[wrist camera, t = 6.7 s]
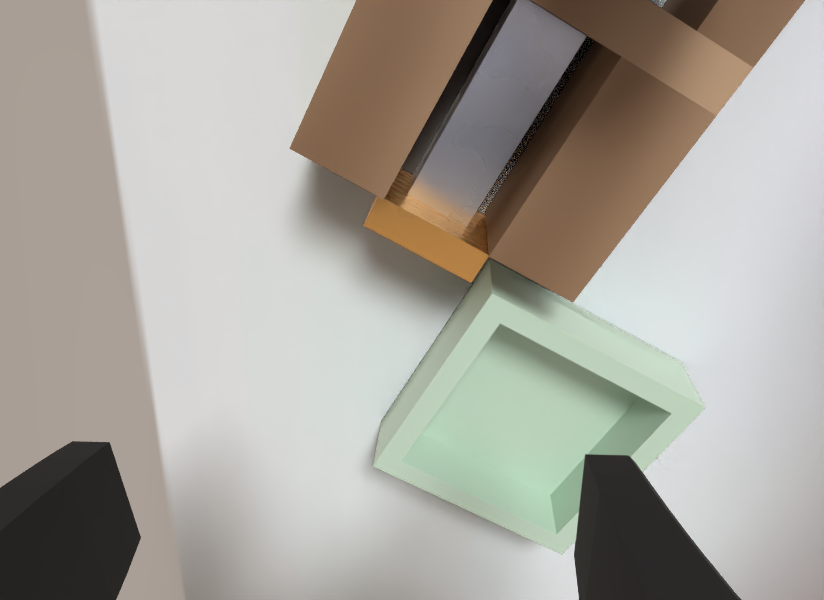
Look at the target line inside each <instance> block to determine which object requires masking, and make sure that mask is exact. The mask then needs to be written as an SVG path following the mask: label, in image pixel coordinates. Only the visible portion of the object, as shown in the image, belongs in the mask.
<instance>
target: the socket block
mask: <svg viewBox="0 0 824 600" xmlns="http://www.w3.org/2000/svg"><path fill="white" fill-rule="evenodd" d="M492 1H493V0H356V2H355V5H354V7H353V9H352V11H351V13H350V16H349V18H348V20H347V22H346V25H345V27H344V29H343V31H342V33H341V36H340V38H339V40H338V42H337V45H336V47H335V49H334V51H333V53H332V56H331V58H330V60H329V62H328V64H327V67H326V69H325V71H324V73H323V76H322V78H321V80H320V82H319V84H318V87H317V89H316V91H315V93H314V96H313V98H312V100H311V102H310V104H309V107H308V109H307V111H306V113H305V115H304V118H303V120H302V122H301V124H300V127H299V129H298V131H297V133H296V135H295V138H294V140H293V142H292V144H291V147H290V149H291V150H293V151H295V152H297V153H299V154H301V155H302V156H304V157H306V158H308V159H310V160H312V161H313V162H315V163H317V164H319V165H321V166H323V167H324V168H326V169H328V170H330V171H332V172H334V173H336V174H337V175H339V176H341V177H343V178H345V179H347V180H348V181H350V182H352V183H354V184H356V185H358V186H359V187H361V188H363V189H365V190H367V191H369V192H371V193H372V194H374V195H376V196H378V197H380V198H382V199H383V200H384V198H385V196H386V194H387V193H388V191H389V189H390V187H391V185H392V183H393V182H394V180H395V178H396V176H397V174H398V172H399V171H400V169H401V167H402V165H403V163H404V161H405V160H406V158H407V156H408V154H409V152H410V151H411V149H412V147H413V145H414V143H415V141H416V140H417V138H418V136H419V134H420V132H421V130H422V129H423V127H424V125H425V123H426V121H427V119H428V118H429V116H430V114H431V112H432V110H433V108H434V107H435V105H436V103H437V101H438V99H439V98H440V96H441V94H442V92H443V90H444V88H445V87H446V85H447V83H448V81H449V79H450V77H451V76H452V74H453V72H454V70H455V68H456V66H457V65H458V63H459V61H460V59H461V57H462V55H463V54H464V52H465V50H466V48H467V46H468V45H469V43H470V41H471V39H472V37H473V35H474V34H475V32H476V30H477V28H478V26H479V24H480V23H481V21H482V19H483V17H484V15H485V13H486V12H487V10H488V8H489V6H490V4H491V2H492ZM530 1H531V2H533V3H534V4H536V5H538V6H539V7H541V8H542V9H544V10H546V11H547V12H549V13H550V14H552V15H554V16H555V17H557V18H558V19H560V20H562V21H563V22H565V23H566V24H568V25H570V26H571V27H573V28H574V29H576V30H578V31H579V32H581V33H582V34H584V35H586V36H587V37H589V38H591V39H592V40H594V41H593V43H592V44H591V46H590V48H589V49H588V51H587V52H586V54H585V55H584V57H583V59H582V60H581V62H580V63H579V65H578V66H577V68H576V70H575V71H574V73H573V74H572V76H571V77H570V79H569V81H568V82H567V84H566V85H565V87H564V88H563V90H562V92H561V93H560V95H559V96H558V98H557V99H556V101H555V103H554V104H553V106H552V107H551V109H550V110H549V112H548V113H547V115H546V117H545V118H544V120H543V121H542V123H541V124H540V126H539V128H538V129H537V131H536V132H535V134H534V135H533V137H532V139H531V140H530V142H529V143H528V145H527V146H526V148H525V150H524V151H523V153H522V154H521V156H520V157H519V159H518V161H517V162H516V164H515V165H514V167H513V168H512V170H511V172H510V173H509V175H508V176H507V178H506V179H505V181H504V183H503V184H502V186H501V187H500V189H499V190H498V192H497V194H496V195H495V197H494V198H493V200H492V201H491V203H490V205H489V206H488V208H487V209H486V224H487V238H488V253H489V257H490V258H492V259H494V260H496V261H498V262H499V263H501V264H503V265H505V266H507V267H509V268H511V269H512V270H514V271H516V272H518V273H520V274H522V275H523V276H525V277H527V278H529V279H531V280H533V281H534V282H536V283H538V284H540V285H542V286H544V287H546V288H547V289H549V290H551V291H553V292H555V293H557V294H558V295H560V296H562V297H564V298H566V299H568V300H569V301H571V302H574V300H575V299H576V298H577V297H578V295H579V294H580V293H581V291H582V290H583V289H584V287H585V286H586V285H587V284H588V282H589V281H590V280H591V278H592V277H593V276H594V274H595V273H596V272H597V271H598V269H599V268H600V267H601V265H602V264H603V263H604V261H605V260H606V259H607V258H608V256H609V255H610V254H611V252H612V251H613V250H614V248H615V247H616V246H617V244H618V243H619V242H620V241H621V239H622V238H623V237H624V235H625V234H626V233H627V231H628V230H629V229H630V228H631V226H632V225H633V224H634V222H635V221H636V220H637V218H638V217H639V216H640V215H641V213H642V212H643V211H644V209H645V208H646V207H647V205H648V204H649V203H650V202H651V200H652V199H653V198H654V196H655V195H656V194H657V192H658V191H659V190H660V188H661V187H662V186H663V185H664V183H665V182H666V181H667V179H668V178H669V177H670V175H671V174H672V173H673V172H674V170H675V169H676V168H677V166H678V165H679V164H680V162H681V161H682V160H683V159H684V157H685V156H686V155H687V153H688V152H689V151H690V149H691V148H692V147H693V146H694V144H695V143H696V142H697V140H698V139H699V138H700V136H701V135H702V134H703V132H704V131H705V130H706V129H707V127H708V126H709V125H710V123H711V122H712V121H713V119H714V118H715V117H716V116H717V114H718V113H719V112H720V110H721V109H722V108H723V106H724V105H725V104H726V103H727V101H728V100H729V99H730V97H731V96H732V95H733V93H734V92H735V91H736V90H737V88H738V87H739V86H740V84H741V83H742V82H743V80H744V79H745V78H746V76H747V75H748V74H749V73H750V71H751V70H752V69H753V67H754V66H755V65H756V63H757V62H758V61H759V60H760V58H761V57H762V56H763V54H764V53H765V52H766V50H767V49H768V48H769V47H770V45H771V44H772V43H773V41H774V40H775V39H776V37H777V36H778V35H779V34H780V32H781V31H782V30H783V28H784V27H785V26H786V24H787V23H788V22H789V21H790V19H791V18H792V17H793V15H794V14H795V13H796V11H797V10H798V9H799V7H800V6H801V5H802V4H803V2H804V1H805V0H667V1H666V3H665V4H664V6H663V7H662V8H660V7H659V6H657V5H656V4H654V3H653V2H651V1H650V0H530Z"/></svg>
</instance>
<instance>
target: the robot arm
mask: <svg viewBox="0 0 824 600" xmlns="http://www.w3.org/2000/svg"><path fill="white" fill-rule="evenodd" d="M140 538H141V537H140V534H139V531H138V528H137V525H136V522H135V519H134V515H133V512H132V510H131V506H130V503H129V500H128V497H127V494H126V491H125V488H124V485H123V482H122V479H121V476H120V473H119V470H118V467H117V464H116V460H115V457H114V454H113V451H112V448H111V445H110V443H109V442H75V441H73V442H71V443H69V444H67V445H66V446H64V447H62V448H61V449H59V450H57V451H56V452H54V453H52V454H51V455H49V456H48V457H46V458H45V459H43V460H41V461H40V462H38V463H37V464H35V465H34V466H32V467H31V468H29V469H28V470H26V471H25V472H23V473H22V474H20V475H19V476H17V477H16V478H14V479H13V480H11V481H10V482H8V483H7V484H5V485H4V486H2V487H1V488H0V600H116V598H117V596H118V594H119V591H120V589H121V587H122V584H123V582H124V580H125V577H126V575H127V573H128V570H129V567H130V565H131V562H132V559H133V556H134V554H135V552H136V549H137V546H138V544H139V541H140ZM574 558H575V567H576V575H577V584H578V593H579V600H741V599H740V598H739V597H738V595H737V594H736V593H735V592H734V591H733V589H732V588H731V587H730V586H729V585H728V583H727V582H726V581H725V580H724V578H723V577H722V576H721V575H720V574H719V572H718V571H717V570H716V569H715V567H714V566H713V565H712V564H711V563H710V561H709V560H708V559H707V558H706V556H705V555H704V554H703V553H702V552H701V550H700V549H699V548H698V546H697V545H696V544H695V543H694V541H693V540H692V539H691V538H690V536H689V535H688V534H687V532H686V531H685V530H684V528H683V527H682V526H681V524H680V523H679V522H678V520H677V519H676V518H675V517H674V515H673V514H672V513H671V511H670V510H669V509H668V507H667V506H666V504H665V503H664V502H663V500H662V499H661V498H660V496H659V495H658V493H657V492H656V491H655V489H654V488H653V487H652V485H651V484H650V482H649V481H648V479H647V478H646V477H645V475H644V474H643V472H642V471H641V469H640V468H639V467H638V465H637V464H636V462H635V461H634V460H633V459H632V458H631V457H630V456H629V455H595V454H585V460H584V469H583V478H582V487H581V496H580V506H579V515H578V524H577V533H576V542H575V552H574Z"/></svg>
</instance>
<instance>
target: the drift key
mask: <svg viewBox="0 0 824 600" xmlns="http://www.w3.org/2000/svg"><path fill="white" fill-rule="evenodd" d="M586 37H587V36H586V35H584V34H582V33H581V32H579V31H578V30H576V29H574V28H573V27H571V26H570V25H568V24H566V23H565V22H563V21H562V20H560V19H558V18H557V17H555V16H554V15H552V14H550V13H549V12H547V11H546V10H544V9H542V8H541V7H539V6H538V5H536V4H534V3H533V2H531V1H530V0H511V1H510V2H509V4H508V6H507V8H506V10H505V11H504V13H503V15H502V17H501V18H500V20H499V22H498V24H497V26H496V27H495V29H494V31H493V33H492V35H491V36H490V38H489V40H488V42H487V43H486V45H485V47H484V49H483V51H482V52H481V54H480V56H479V58H478V60H477V61H476V63H475V65H474V67H473V68H472V70H471V72H470V74H469V76H468V77H467V79H466V81H465V83H464V85H463V86H462V88H461V90H460V92H459V93H458V95H457V97H456V99H455V101H454V102H453V104H452V106H451V108H450V110H449V111H448V113H447V115H446V117H445V118H444V120H443V122H442V124H441V126H440V127H439V129H438V131H437V133H436V135H435V136H434V138H433V140H432V142H431V143H430V145H429V147H428V149H427V151H426V152H425V154H424V156H423V158H422V160H421V161H420V163H419V165H418V167H417V168H416V170H415V172H414V174H413V175H412V174H410V173H408V172H406V171H404V170H403V169H400V171H399V172H398V174H397V176H396V178H395V180H394V182H393V183H392V185H391V187H390V189H389V191H388V193H387V194H386V196H385V198H384V200H383V199H382V198H380V197H378V196H375V198H374V201H373V203H372V206H371V208H370V210H369V213H368V215H367V218H366V220H365V223H364V225H363V226H365V227H367V228H369V229H370V230H372V231H374V232H376V233H378V234H380V235H382V236H384V237H385V238H387V239H389V240H391V241H393V242H395V243H397V244H399V245H401V246H402V247H404V248H406V249H408V250H410V251H412V252H414V253H416V254H417V255H419V256H421V257H423V258H425V259H427V260H429V261H431V262H432V263H434V264H436V265H438V266H440V267H442V268H444V269H446V270H447V271H449V272H451V273H453V274H455V275H457V276H459V277H461V278H462V279H464V280H466V281H468V282H470V283H472V281H473V280H474V278H475V277H476V275H477V274H478V272H479V271H480V269H481V268H482V266H483V265H484V263H485V262H486V260H487V259H488V257H489V253H488V238H487V224H486V215H484V214H482V213H480V212H478V211H477V210H478V208H479V207H480V205H481V203H482V202H483V200H484V199H485V197H486V195H487V194H488V192H489V191H490V189H491V188H492V186H493V184H494V183H495V181H496V180H497V178H498V176H499V175H500V173H501V172H502V170H503V169H504V167H505V165H506V164H507V162H508V161H509V159H510V157H511V156H512V154H513V153H514V151H515V149H516V148H517V146H518V145H519V143H520V142H521V140H522V138H523V137H524V135H525V134H526V132H527V130H528V129H529V127H530V126H531V124H532V122H533V121H534V119H535V118H536V116H537V115H538V113H539V111H540V110H541V108H542V107H543V105H544V103H545V102H546V100H547V99H548V97H549V95H550V94H551V92H552V91H553V89H554V88H555V86H556V84H557V83H558V81H559V80H560V78H561V76H562V75H563V73H564V72H565V70H566V68H567V67H568V65H569V64H570V62H571V61H572V59H573V57H574V56H575V54H576V53H577V51H578V49H579V48H580V46H581V45H582V43H583V41H584V40H585V38H586Z"/></svg>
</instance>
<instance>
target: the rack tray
mask: <svg viewBox="0 0 824 600" xmlns="http://www.w3.org/2000/svg"><path fill="white" fill-rule="evenodd" d="M705 408H706V406H705V405H704V403H703V401H702V399H701V397H700V395H699V393H698V392H697V390H696V388H695V386H694V384H693V382H692V380H691V379H690V377H689V375H688V373H687V371H686V369H685V368H684V366H683V364H682V363H681V362H680V361H678V360H676V359H674V358H672V357H670V356H668V355H667V354H665V353H663V352H661V351H659V350H657V349H656V348H654V347H652V346H650V345H648V344H646V343H644V342H643V341H641V340H639V339H637V338H635V337H633V336H632V335H630V334H628V333H626V332H624V331H622V330H621V329H619V328H617V327H615V326H613V325H611V324H609V323H608V322H606V321H604V320H602V319H600V318H598V317H597V316H595V315H593V314H591V313H589V312H587V311H585V310H584V309H582V308H580V307H578V306H576V305H574V304H573V303H571V302H569V301H567V300H565V299H563V298H562V297H560V296H558V295H556V294H554V293H552V292H550V291H549V290H547V289H545V288H543V287H541V286H539V285H538V284H536V283H534V282H532V281H530V280H528V279H526V278H525V277H523V276H521V275H519V274H517V273H515V272H514V271H512V270H510V269H508V268H506V267H504V266H503V265H501V264H499V263H497V262H495V261H493V260H491V259H489V260H488V262H487V263H486V265H485V266H484V268H483V269H482V271H481V272H480V274H479V275H478V277H477V278H476V280H475V281H474V283H473V284H472V286H471V287H470V289H469V290H468V292H467V293H466V295H465V296H464V298H463V299H462V301H461V302H460V304H459V305H458V307H457V308H456V310H455V311H454V313H453V314H452V316H451V317H450V319H449V320H448V322H447V323H446V325H445V326H444V328H443V329H442V331H441V332H440V334H439V335H438V337H437V338H436V340H435V341H434V343H433V344H432V346H431V347H430V349H429V350H428V352H427V353H426V355H425V356H424V358H423V359H422V361H421V362H420V364H419V365H418V367H417V368H416V370H415V371H414V373H413V374H412V376H411V377H410V379H409V380H408V382H407V383H406V385H405V386H404V388H403V389H402V391H401V392H400V394H399V395H398V397H397V398H396V400H395V401H394V403H393V404H392V406H391V407H390V409H389V410H388V412H387V413H386V415H385V416H384V418H383V419H382V422H381V427H380V432H379V437H378V442H377V448H376V453H375V458H374V463H373V467H375V468H377V469H379V470H382V471H384V472H386V473H388V474H390V475H392V476H394V477H397V478H399V479H401V480H403V481H405V482H407V483H409V484H412V485H414V486H416V487H418V488H420V489H422V490H424V491H427V492H429V493H431V494H433V495H435V496H437V497H439V498H442V499H444V500H446V501H448V502H450V503H452V504H454V505H457V506H459V507H461V508H463V509H465V510H467V511H469V512H472V513H474V514H476V515H478V516H480V517H482V518H484V519H487V520H489V521H491V522H493V523H495V524H497V525H499V526H502V527H504V528H506V529H508V530H510V531H512V532H514V533H517V534H519V535H521V536H523V537H525V538H527V539H529V540H532V541H534V542H536V543H538V544H540V545H542V546H544V547H547V548H549V549H551V550H553V551H555V552H557V553H559V554H561V555H562V554H563V553H564V552H565V551H566V550H567V549H568V548H569V547H570V546H571V545H572V544H573V543H574V542H575V541H576V533H577V524H578V515H579V506H580V496H581V487H582V478H583V469H584V460H585V454H595V455H629V456H630V457H631V458H632V459H633V460H634V461H635V462H636V464H637V465H638V467H639V468H640V469H641V471H642V472H643V471H644V470H645V469H646V468H647V467H648V466H649V465H650V464H651V463H652V462H653V461H654V460H655V459H656V458H657V457H658V456H659V455H660V454H661V453H662V452H663V451H664V450H665V449H666V448H667V447H668V446H669V445H670V444H671V443H672V442H673V441H674V440H675V439H676V438H677V437H678V436H679V435H680V434H681V433H682V432H683V431H684V430H685V429H686V428H687V427H688V426H689V424H690V423H691V422H692V421H693V420H694V419H695V418H696V417H697V416H698V415H699V414H700V413H701V412H702V411H703V410H704V409H705Z"/></svg>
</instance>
